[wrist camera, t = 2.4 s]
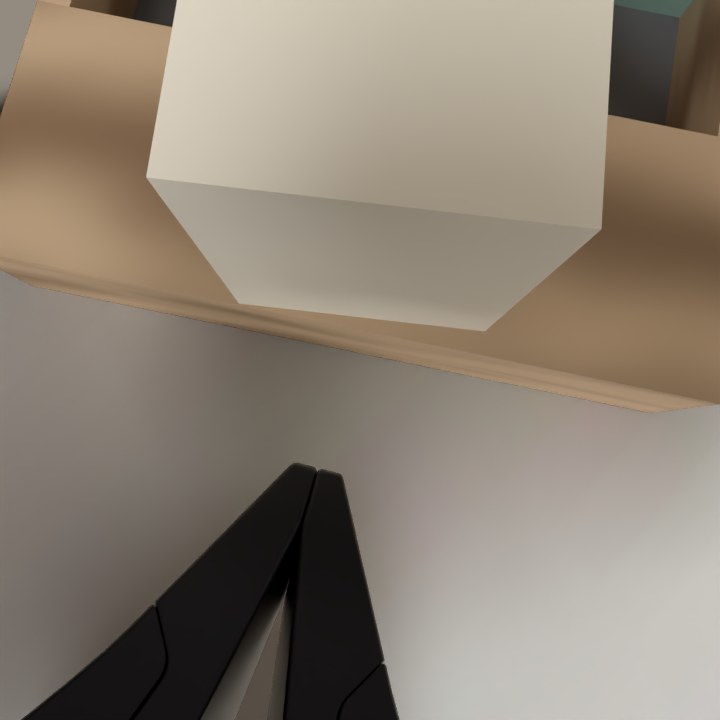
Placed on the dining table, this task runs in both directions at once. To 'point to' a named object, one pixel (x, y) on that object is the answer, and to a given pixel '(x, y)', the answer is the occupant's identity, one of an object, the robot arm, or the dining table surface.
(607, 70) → the cream block
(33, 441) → the dining table surface
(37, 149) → the trap board
